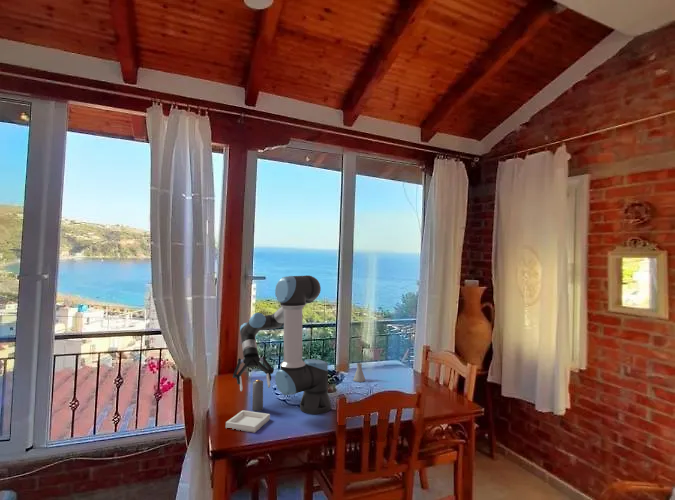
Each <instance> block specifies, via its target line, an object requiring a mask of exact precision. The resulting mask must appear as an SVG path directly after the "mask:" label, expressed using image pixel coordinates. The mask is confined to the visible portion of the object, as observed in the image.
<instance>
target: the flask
mask: <svg viewBox="0 0 675 500" xmlns="http://www.w3.org/2000/svg"><path fill="white" fill-rule="evenodd" d="M362 366H363V363H361V362H357V363H356V371H355V374H354V376H353V379H352V381H354V382H357V383H362V382H363V383H364V382H365V381H366V377H365V375H364V371H363V367H362Z"/></svg>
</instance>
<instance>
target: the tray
mask: <svg viewBox="0 0 675 500" xmlns="http://www.w3.org/2000/svg"><path fill="white" fill-rule="evenodd" d="M270 420H271V414H270V413H265V412H260V411H253V410H244V409H243V410H240V411H239V412H238V413H237V414H235V415H233V417H231V418H230V419H228V420H227V421H225V429H227V428H232V429H231V430H234V429H236V430H235V431H240V430H241V431H242V432H248V433H254V434H255V433H256V432H258V431H259V430H260V429H261V428H262V427H264V425H266V424H267V423H268V422H269V421H270Z"/></svg>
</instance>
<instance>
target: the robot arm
mask: <svg viewBox="0 0 675 500" xmlns="http://www.w3.org/2000/svg"><path fill="white" fill-rule="evenodd" d="M321 290H322V289H321V283H320V282H319V280H318V279H317V278H316V277H315V276H312V275H288V276H283V277H281V278H280V279H279V280H278V281H277V283H276V285H275V289H274V291H275V292H274V293H275V294H274V295H275V297H276V300H277V301H278V302H279V303H280V307H279V308H278V309H277V310H276V311H275V312H273V314H267V315H265V314H264V313H262V312H255V313H253V314H252V316H251V317H250V318H249V320H248V321H247V322H244V323H242V324H241V325H240V327H239V332H240V333H239V334H240V340H241V341H240V342H241V348H242V354H243V356H242V357H243V358H242V359H241V358H238V360H237V365H236V367H235V369H234V372H233V373H232V379H236V384H237V385H239V390H240V392H243V380H242V375H243V373H244V372H245V371H246V370H247V368H255V367H256V368H258V369H260V370H261V371H262V372H263V373H265V374H266V375H265V376H266V383H267V388H269V389H270V388H271V380H272V374H274V371H275V370H274V368H273V367H272V366H271V365H270V363H269V362H268V361H267V359H266V356H264V355H263V356H262V357H260V356H259V351H258V345H257V338H256V337H257V334H258V333H259V332H261V331H265V330H266V331H267V330H273V329H280V328H283V361H282V362H281V363H280V368H279V370H278V371H276V372H275V376H274V381H275V385H276V388H277V389H278V390H279V392H280V393H281V394H282V395H284V396H291V395H295V394H298V393H301V392H303V394H302V397H301V400H300V402H299V410H300V411H301V412H302V413H305V414H311V415H321V414H326V413H327V412H329V411H331V409H332V402H331V398H330V395H329V392H328V383H329V381H328V380H329V377H328V376H329V367H328V363H327V361H325V360H321V359H316V358H315V359H314V358H310V359H309V358H308V359H305V360H303V308H304V307H305V306H306V305H307V304H311V303H313V302H314V301H315V300H316V299H318V297H319V296H320V293H321ZM262 363H263V364H262ZM242 364H244V365H243V367H242V368H241V369H240V370H239V368H240V367H241V365H242ZM238 371H239V372H238Z"/></svg>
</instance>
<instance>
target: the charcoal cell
mask: <svg viewBox="0 0 675 500" xmlns="http://www.w3.org/2000/svg"><path fill="white" fill-rule="evenodd" d="M251 397H252V401H251V402H252V404H251V406H252V408H251V409H252V410H251V411H252V412H260V411H263V410H264V381H263V380H261V379H255V380H253V381H252V396H251Z"/></svg>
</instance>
